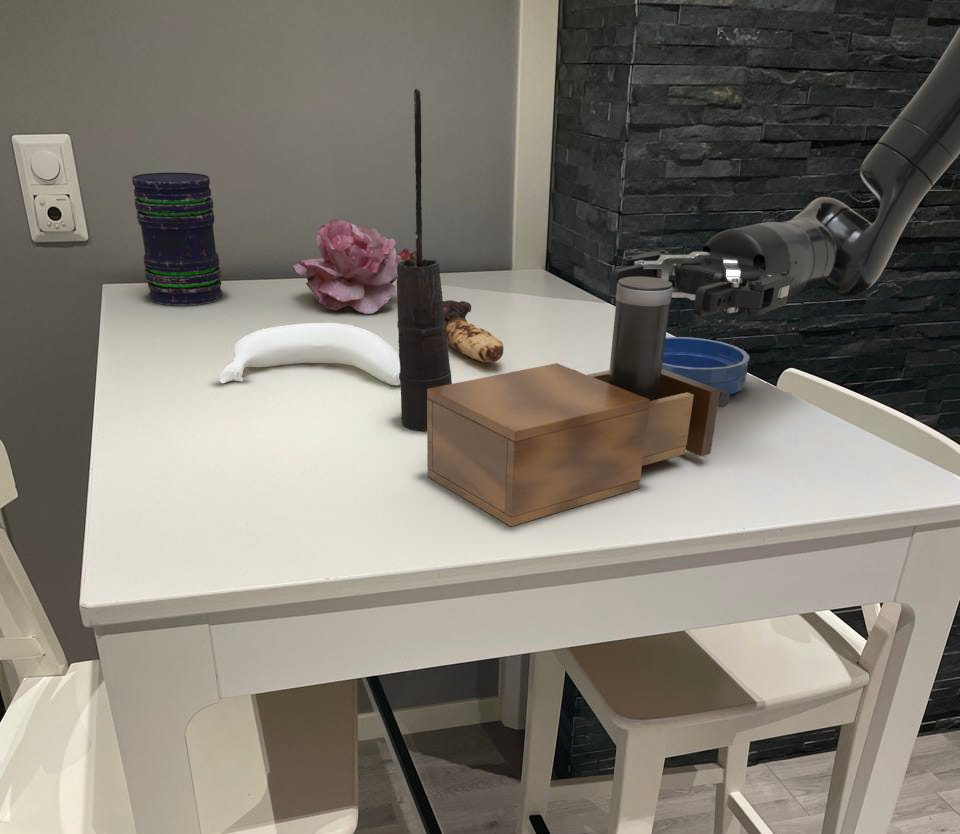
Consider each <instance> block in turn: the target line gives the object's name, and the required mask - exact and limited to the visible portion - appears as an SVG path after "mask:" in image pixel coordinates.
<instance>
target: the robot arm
mask: <svg viewBox="0 0 960 834" xmlns="http://www.w3.org/2000/svg"><path fill="white" fill-rule="evenodd" d="M959 156H960V27H959V28H958V29H957V31H956V32H955V35H954V36H953V38H952V39H951V40H950V42H949V44H948V45H947V47H946V49H945V50H944V52H943V54H942V55H941V57H940V58H939V60H938V62H937V63H936V64H935V66H934V68H933V69H932V71H931V72H930V74H929V75H928V77H927V78H926V79H925V81H924V82H923V84H922V85H921V86H920V88H919V89H918V90H917V92H916V93H915V94H914V95H913V97H912V98H911V100H910V101H909V102H908V103H907V105H906V106H905V107H904V108H903V110H902V111H901V112H900V113H899V114H898V116H897V117H896V118H895V120H894V121H893V122H892V124H891V125H890V126H889V127H888V128H887V130H886V131H885V132H884V134H883V135H882V136H881V137H880V139H879V140H878V141H877V143H876V144H875V145H874V146H873V147H872V148H871V150H870V151H869V152H868V154H867V155H866V156H865V158H864V159H863V161H862V163H861V165H860V168H859V175H860V179H861V180H862V182H863V183H864V184H865V186H866V187H867V188H868V189H869V191H870V192H871V193H872V194H873V195H874V196H875V198H876V199H877V201H878V203H879V209H878V213H877V216H876V218H875V219H874V221H873V223H872V222H870V221H869V220H868V219H866V218H864V217H863V216H862V215H860V214H859V213H857V212H856V211H855V210H853V209H852V208H851V207H849V206H848V205H847V204H845V203H844V202H843V201H841V200H839V199H837V198H833V197H829V196H820V197H817V198H815V199H813V200H811V201H810V202H809V203H808V204H806V205H805V206H804V208H803V209H801V211H800V212H799V213H798V214H796V215H795V216H793V217H792V218H791V219H788V220H784V221H783V220H782V221H764V222H760V223H755V224H750V225H745V226H739V227H734V228H730V229H725V230H723V231H720V232H718V233H717V234H715V235H713V236H712V237H711V238H710V239H709V240H708V241H707V242H706V243H705V245H704V246H703V247H702V248H701V249H700V251H692V252H691V253H689V254H670V252H669V251H666V250H665V249H660V250H655V251H651V252H645V253H640V254H634V255H626V256H623V257H622V258H621V260H622V261H621V268H617V269H613V271H612V272H611V273H610V278H609V286H608V287H609V289H608V291H609V295H610V297H613V298H616V292H617V284H618V281H619V280H620V279H622V278H626V277H653V278H660V279H664V280H667V281H669V282H670V276H674V277H673V279H674V285H675V288H673V289H672V297H671V299H672V298H673V299H677V298H678V299H680V298H681V299H683V298H684V299H685V298H687V299H688V300H690V301H694V305H693V314H694V316H697V317H702V318H704V317H707V316H710V315H713V314H717V315H719V316H723V317H726V318H727V317H728V318H737V317H741V316H745V315H749V316H750V317H757V316H760V315H763V314H766V313H768V312H771V311H774V310H776V309H779V308H782V307H784V306H786V305H787V301H788V299H790V298H793V297H797V296H800V295H804V294H806V293H809V292H811V291H813V290H815V289H818V288H819V287H820V286H822V285H824V286H825V287H827V288H828V289H829V290H830V291H832V292H833V293H834V294H835V295H838V296H840V297H842V298H851V297H856V296H858V295H860V294H863V293H864V292H866V291H867V290H868V289H869V288H871V287H872V286H873V285H874V284H875V283H876V282H877V280H878V279H879V278H880V276H881V275H882V273H883V271H884V269H885V268H886V266H887V264H888V262H889V261H890V259H891V256H892V255H893V252H894V249H895V248H896V245H897V243H898V241H899V239H900V237H901V235H902V233H903V231H904V230H905V228H906V226H907V225H908V222H909V221H910V219H911V217H912V215H914V212H915V211H916V209H917V208H918V206H919V204H920V203H921V202H922V200H923V199H924V198H925V196H926V195H927V194H928V192H929V191H930V190H931V189H932V187H933V186H934V185H935V184H936V182H938V180H939V179H940V178H941V177H942V176H943V175H944V173H945V172H946V171H947V169H948V168H949V167H950V166H951V165H952V164H953V162H954V161H955V160H956V159H957V157H959Z"/></svg>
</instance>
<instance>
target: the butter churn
mask: <svg viewBox="0 0 960 834" xmlns="http://www.w3.org/2000/svg"><path fill="white" fill-rule="evenodd" d="M421 100H422V99H421V90H420V89H418V88H415V89H414V91H413V102H414V104H413V105H414V106H413V107H414V109H413V112H414V113H413V115H414V161H415V162H414V163H415V170H414V171H415V173H414V174H415V223H416V224H415V227H416V228H415V235H416V236H417V238H415V250H414V251H412V252H411V253H410V252H409V253H410V259H411V260H409V259H405V260H404V261H401V262H398V263H397V264H398V265H397V275H398V277H397V279H396V302H397V303H396V304H397V323H396V324H397V326H396V327H397V332H398V343H397V344H398V355H399V361H400V373H399V379H400V383H401V385H400V404H401V405H400V414H401V424H402V426H403V427H404V428H406V429H409V430H413V431H414V430H415V431H423V432H424V431H426V432H427V389H428V388H433V387H438V386H444V385H449V384H453V382H452V381H453V380H452V371H451V364H450V356H449V344H448V343H447V334H446V327H447V325H446V321H445V317H444V307H443V301H444V300H443V291H442V280H441V272H440V264H439V263H440V262H438V260H436V259H427V258H424V259H423V218H422V217H423V216H422V215H423V214H422V210H423V209H422V208H423V207H422V162H423V161H422V159H423V158H422V111H421V110H422V101H421Z"/></svg>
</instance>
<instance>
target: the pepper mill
mask: <svg viewBox="0 0 960 834" xmlns="http://www.w3.org/2000/svg"><path fill="white" fill-rule="evenodd" d="M672 289H674V287H673V282H672V281H670V280H669V281H667V280H664V279H660V278H653V277H626V278H622V279H620V280H619V281H618V284H617V292H616V297H615V311H614V319H613V330H612V340H611V341H612V342H611V350H610V359H609V361H610V362H609V369H608V370H609V381H608V383H609V384H611V385H614V386H616V387H619V388H621V389H624V390H626V391H629V392H632V393H634V394H637V395H639V396H642V397H644V398H647V399H649V400H650V401H653V400H657V399H658V395H659V387H660V379H661V371H662V363H663V355H664V348H665V340H666V337H667V330H668V325H669V324H668V323H669V322H668V321H669V315H670V307H671V301H672V298H671V297H672Z"/></svg>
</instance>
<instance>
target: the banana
mask: <svg viewBox="0 0 960 834" xmlns="http://www.w3.org/2000/svg"><path fill="white" fill-rule="evenodd" d="M232 351H233V360H232V362H230V363H228V364H227V365H225V366H224V369H222V371H221V372H220V375H219V378H218V379H219V382H220V383H221V384H225V383H227V382H231V381H235V382H243V381H244V379H243V373H244V369H245V368H247V367H251V368H268V367H269V368H270V367H277V366H286V365H295V364H297V365H298V364H310V363H311V364H342V365H349V366H353V367H356V368H358V369H359V370H361V371H364V372H366V373H368V374H369V375H371V376H373V377H374V378H376V379H378V380H379V381H381V382H384V383H386V384H388V385H391V386H401V383H400V379H399V373H400V361H399V352H397V351H396V350H395V348H393V347H392V346H391V345H390V344H389V343H388V342H387V341H386V340H384V339H383V338H381V337H380V336H379V335H377V334H376V333H373V332H371V331H370V330H367V329H365V328H362V327H359V326H356V325H352V324H345V323H339V322H307V323H306V322H305V323H296V324H286V325H279V326H272V327H267V328H263V329H258V330H255V331H252V332H251V333H249V334H247V335H245V336H243V337H242V338H240V339H239V340H238V341H236V342H235V344H234V346H233V350H232Z"/></svg>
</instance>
